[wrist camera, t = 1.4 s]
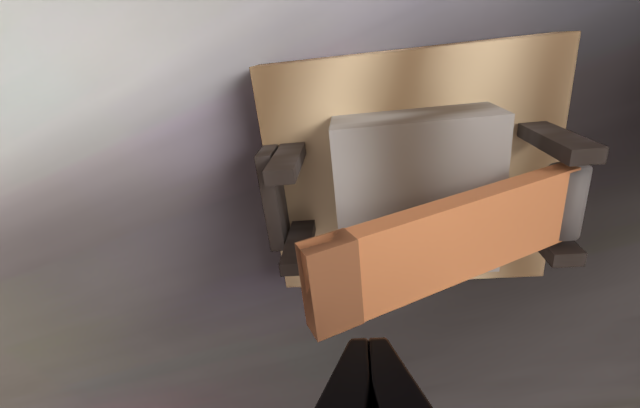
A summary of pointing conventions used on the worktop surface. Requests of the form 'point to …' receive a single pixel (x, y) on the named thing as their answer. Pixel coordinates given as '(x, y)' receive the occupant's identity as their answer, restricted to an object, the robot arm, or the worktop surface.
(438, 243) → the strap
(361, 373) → the robot arm
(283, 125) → the clamp base
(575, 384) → the worktop surface
